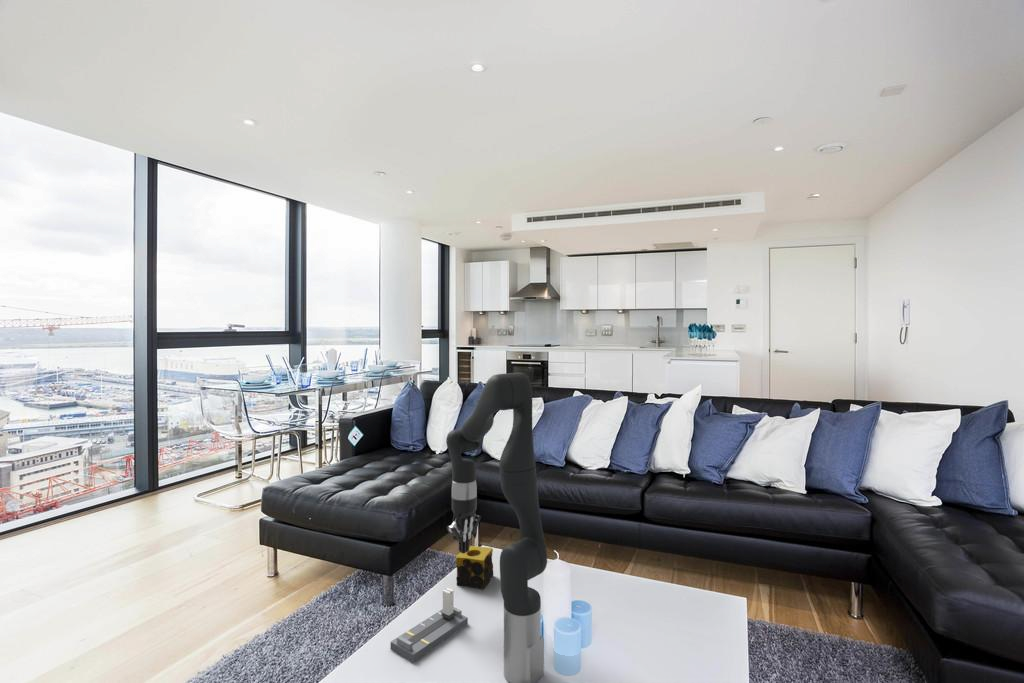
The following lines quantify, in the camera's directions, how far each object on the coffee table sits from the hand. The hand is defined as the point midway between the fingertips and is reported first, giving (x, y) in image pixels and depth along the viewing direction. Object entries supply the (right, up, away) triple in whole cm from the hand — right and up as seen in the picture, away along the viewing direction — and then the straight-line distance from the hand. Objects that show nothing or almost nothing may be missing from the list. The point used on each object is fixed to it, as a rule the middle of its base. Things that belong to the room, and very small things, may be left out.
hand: (464, 551), depth 152 cm
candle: (+2, -19, +20) cm, 28 cm away
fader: (-4, -17, -5) cm, 18 cm away
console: (-8, -19, -11) cm, 24 cm away
